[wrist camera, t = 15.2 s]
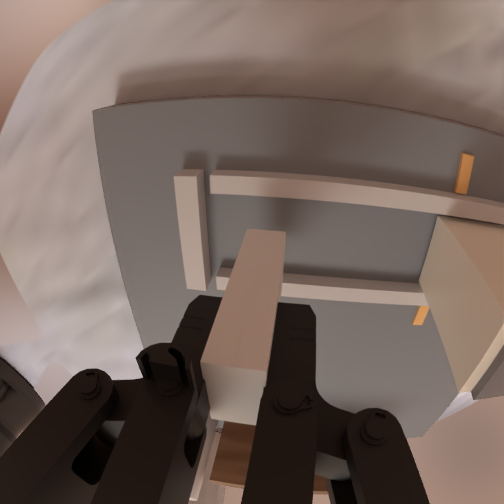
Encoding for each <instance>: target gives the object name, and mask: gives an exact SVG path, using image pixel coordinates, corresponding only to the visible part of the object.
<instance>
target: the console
mask: <svg viewBox="0 0 504 504" xmlns="http://www.w3.org/2000/svg"><path fill="white" fill-rule="evenodd" d="M93 121H94V130H95V139H96V147H97V154H98V161H99V168H100V174H101V180H102V186H103V192H104V198H105V203H106V208H107V213H108V218H109V223H110V228H111V232H112V237H113V241H114V246H115V250H116V254H117V258H118V262H119V266H120V270H121V274H122V278H123V281H124V285H125V289H126V292H127V296H128V299H129V303H130V306H131V309H132V313H133V316H134V319H135V322H136V326H137V329H138V332H139V335H140V338H141V341H142V344H143V347H144V349H145V348H147V347H148V346H150V345H153V344H157V343H171V342H172V339H173V337H174V335H175V333H176V331H177V328H179V324H180V322H181V320H182V318H183V315H184V313H185V311H186V309H187V307H188V305H189V303H191V302H192V301H193V300H194V299H195V298H196V297H197V296H199V295H207V296H215V297H223V295H224V292H225V290H226V287H227V284H228V281H229V278H230V276H231V273H232V270H233V267H234V264H235V262H236V259H237V256H238V253H239V250H240V248H241V245H242V242H243V239H244V236H245V234H246V231H247V229H258V230H271V231H283V232H286V240H285V254H284V268H283V281H282V292H281V300H280V302H284V303H295V304H307V305H310V306H311V308H312V310H313V312H314V313H315V315H316V387H317V390H318V392H319V394H320V395H321V397H322V398H323V399H324V400H325V401H326V402H328V403H329V404H330V405H332V406H335V407H337V408H339V409H342V410H345V411H348V412H351V413H355V414H356V413H357V412H359V411H361V410H364V409H366V408H380V409H383V410H387V411H389V412H390V413H391V414H393V415H394V416H395V417H396V418H397V420H398V421H399V423H400V424H401V427H402V429H403V432H404V434H405V437H406V438H413V437H422V436H423V435H424V434H425V433H426V432H427V431H428V430H429V429H430V428H431V426H432V425H433V424H434V423H435V422H436V421H437V420H438V418H439V417H440V416H441V415H442V414H443V412H444V411H445V410H446V409H447V407H448V406H449V405H450V404H451V402H452V401H453V400H454V399H455V397H456V396H457V395H458V390H457V386H456V383H455V380H454V376H453V373H452V370H451V367H450V363H449V360H448V357H447V354H446V351H445V348H444V345H443V342H442V340H441V337H440V334H439V331H438V329H437V326H436V323H435V320H434V318H433V315H432V313H431V310H430V308H429V305H428V303H427V300H426V298H425V295H424V293H423V290H422V288H421V286H420V283H419V278H420V275H421V272H422V269H423V265H424V262H425V259H426V256H427V252H428V249H429V246H430V242H431V239H432V235H433V231H434V228H435V224H436V220H437V216H438V215H440V216H447V217H453V218H460V219H467V220H473V221H479V222H485V223H491V224H497V225H502V226H503V227H504V136H503V135H500V134H497V133H494V132H491V131H487V130H484V129H481V128H477V127H474V126H470V125H467V124H463V123H459V122H455V121H451V120H447V119H443V118H439V117H435V116H430V115H426V114H421V113H416V112H411V111H406V110H400V109H395V108H389V107H383V106H376V105H370V104H362V103H355V102H347V101H337V100H327V99H316V98H302V97H284V96H202V97H184V98H171V99H159V100H149V101H140V102H132V103H124V104H117V105H112V106H108V107H104V108H100V109H97V110H93ZM223 424H224V421H222V420H216V419H211V416H210V411H209V415H208V418H207V422H206V428H207V436H206V440H205V444H204V448H203V451H202V455H201V459H200V462H199V466H198V470H197V473H196V477H195V481H194V484H193V488H192V492H191V495H190V499H189V500H193V501H197V500H198V496H199V492H200V489H201V485H202V481H203V478H204V474H205V470H206V466H207V463H208V459H209V455H210V452H211V448H212V444H213V440H214V437H215V433H216V429H217V428H220V429H222V428H223Z"/></svg>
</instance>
